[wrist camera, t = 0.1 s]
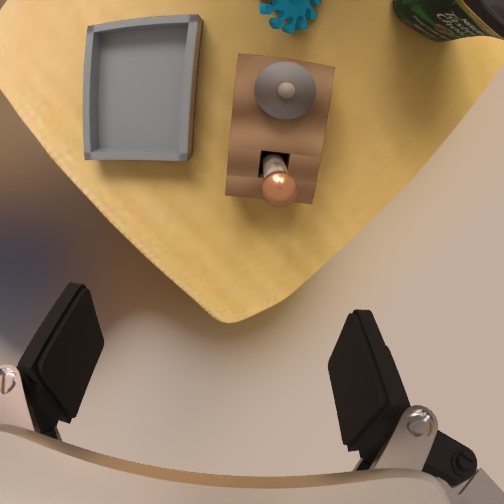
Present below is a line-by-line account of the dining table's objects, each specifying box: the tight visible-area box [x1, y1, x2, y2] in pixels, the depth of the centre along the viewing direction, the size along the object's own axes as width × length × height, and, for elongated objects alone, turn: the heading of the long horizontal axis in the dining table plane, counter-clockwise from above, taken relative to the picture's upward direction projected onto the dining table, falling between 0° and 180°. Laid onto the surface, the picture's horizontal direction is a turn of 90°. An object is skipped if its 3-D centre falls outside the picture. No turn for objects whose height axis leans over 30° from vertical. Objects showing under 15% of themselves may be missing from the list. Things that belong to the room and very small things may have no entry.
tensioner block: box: [225, 54, 335, 204], centre depth 31 cm, size 16×10×9 cm, turn 174°
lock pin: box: [261, 151, 298, 207], centre depth 31 cm, size 3×3×13 cm
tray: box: [83, 15, 203, 162], centre depth 31 cm, size 18×14×4 cm
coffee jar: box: [393, 0, 504, 42], centre depth 17 cm, size 10×8×19 cm
